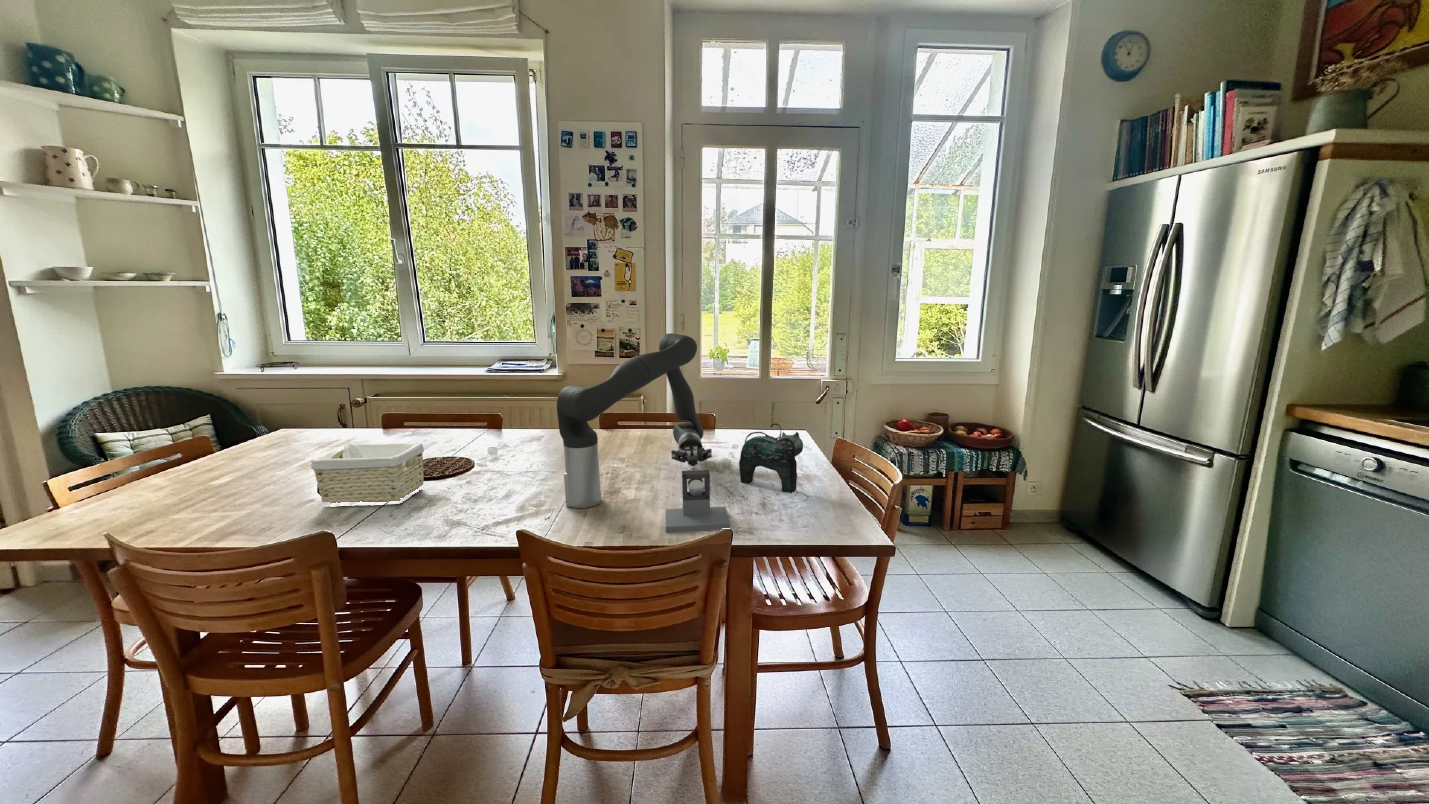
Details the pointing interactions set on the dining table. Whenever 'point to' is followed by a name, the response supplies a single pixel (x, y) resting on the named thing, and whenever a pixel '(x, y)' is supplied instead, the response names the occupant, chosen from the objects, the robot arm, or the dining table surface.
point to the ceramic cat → (771, 457)
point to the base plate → (696, 517)
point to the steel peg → (695, 484)
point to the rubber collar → (696, 475)
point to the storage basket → (369, 472)
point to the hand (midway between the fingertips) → (693, 463)
